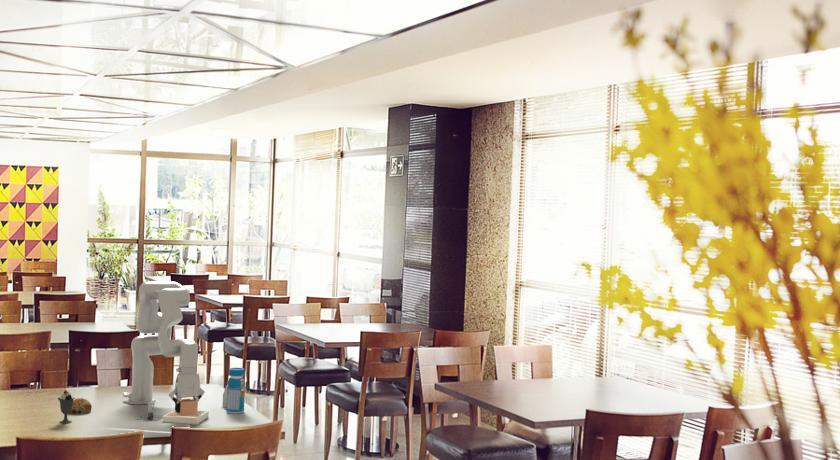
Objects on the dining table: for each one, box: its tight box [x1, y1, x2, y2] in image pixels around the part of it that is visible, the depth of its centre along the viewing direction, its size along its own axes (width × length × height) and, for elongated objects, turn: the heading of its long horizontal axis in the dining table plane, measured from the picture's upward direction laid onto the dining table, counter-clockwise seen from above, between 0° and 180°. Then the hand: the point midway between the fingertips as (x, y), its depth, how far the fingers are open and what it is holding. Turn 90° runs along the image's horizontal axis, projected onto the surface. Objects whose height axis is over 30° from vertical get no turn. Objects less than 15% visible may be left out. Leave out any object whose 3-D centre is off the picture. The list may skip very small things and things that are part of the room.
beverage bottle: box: [225, 367, 246, 415], centre depth 376 cm, size 8×8×20 cm
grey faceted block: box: [221, 385, 228, 409], centre depth 385 cm, size 4×7×10 cm, turn 62°
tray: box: [161, 409, 209, 427], centre depth 355 cm, size 15×15×3 cm
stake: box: [134, 402, 163, 422], centre depth 354 cm, size 10×10×7 cm
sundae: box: [57, 385, 76, 425], centre depth 343 cm, size 7×7×15 cm
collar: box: [175, 397, 199, 416], centre depth 355 cm, size 7×7×6 cm
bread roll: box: [68, 397, 93, 415], centre depth 363 cm, size 10×10×8 cm
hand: (186, 410), depth 355 cm, fingers closed on collar, 7 cm apart
